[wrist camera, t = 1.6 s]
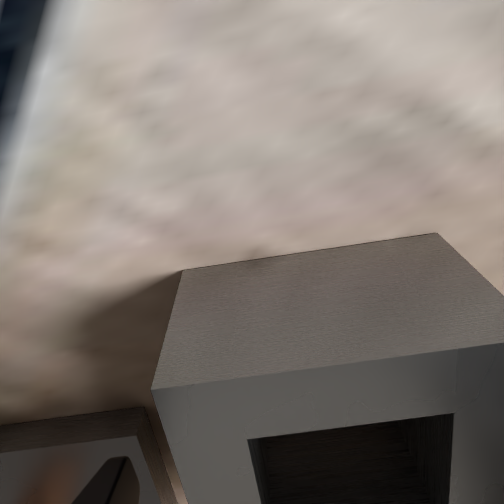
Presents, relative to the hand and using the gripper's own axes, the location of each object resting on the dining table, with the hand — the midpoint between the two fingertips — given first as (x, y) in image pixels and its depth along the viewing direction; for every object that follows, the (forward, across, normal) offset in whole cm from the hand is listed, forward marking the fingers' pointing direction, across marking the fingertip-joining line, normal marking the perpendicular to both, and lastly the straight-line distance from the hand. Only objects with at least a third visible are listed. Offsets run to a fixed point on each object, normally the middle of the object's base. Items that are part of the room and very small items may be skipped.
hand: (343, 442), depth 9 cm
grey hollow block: (+3, 0, 0) cm, 3 cm away
